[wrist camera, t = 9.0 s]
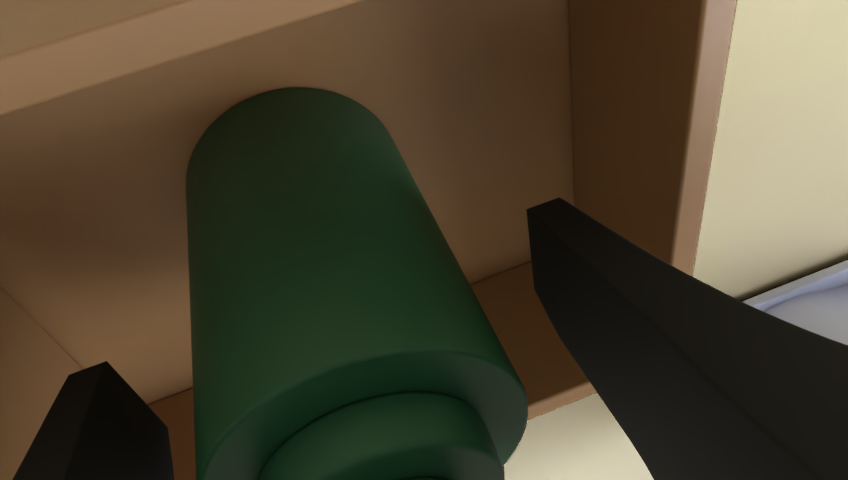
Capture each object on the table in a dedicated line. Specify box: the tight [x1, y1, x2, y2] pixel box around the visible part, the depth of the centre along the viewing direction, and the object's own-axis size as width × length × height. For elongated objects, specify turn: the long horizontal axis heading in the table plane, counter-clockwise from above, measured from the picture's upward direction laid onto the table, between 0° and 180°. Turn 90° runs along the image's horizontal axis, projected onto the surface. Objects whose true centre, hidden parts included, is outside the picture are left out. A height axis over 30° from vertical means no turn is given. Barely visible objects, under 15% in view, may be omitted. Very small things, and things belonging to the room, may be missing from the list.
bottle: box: [186, 88, 528, 480], centre depth 10 cm, size 5×5×9 cm
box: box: [0, 0, 737, 480], centre depth 12 cm, size 14×11×5 cm
